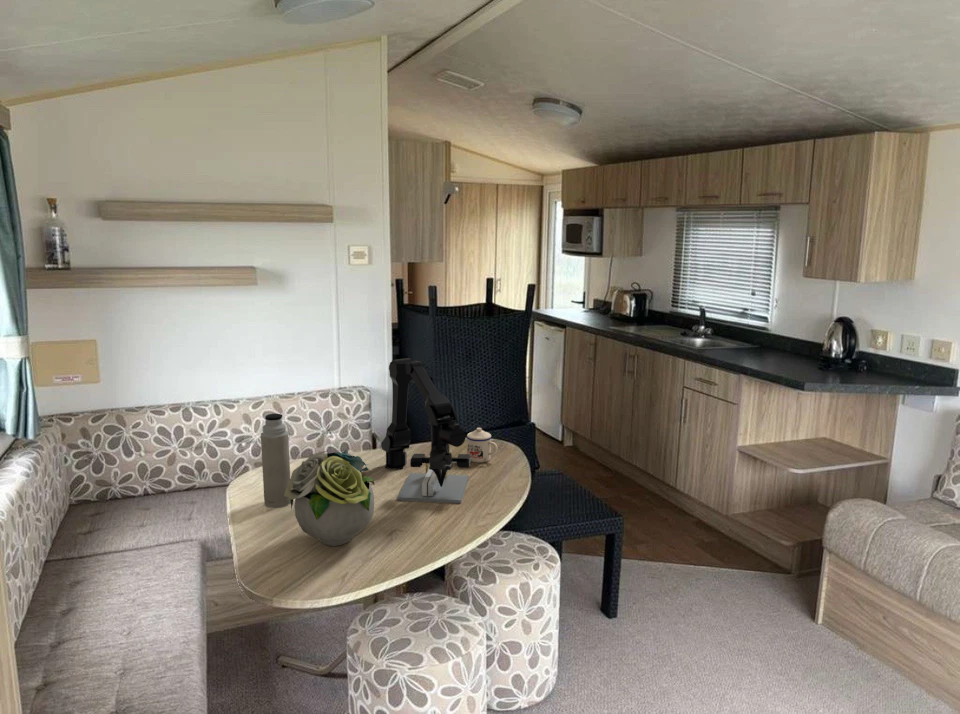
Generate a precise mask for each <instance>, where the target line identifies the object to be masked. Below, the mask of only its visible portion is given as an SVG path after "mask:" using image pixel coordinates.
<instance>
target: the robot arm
mask: <svg viewBox="0 0 960 714" xmlns="http://www.w3.org/2000/svg"><path fill="white" fill-rule="evenodd" d="M424 366H425V365H424V363H423V362H422V361H419V360H412V359H411V358H409V357H408V358H406V357H405V358H400V359H392V360H391V361H390V362H389V364H388V371H389V378H390V380H391V381H392V382H393V393H392V394H393V395H392V413H391V414H392V415H391V423H389V426H388V427H387V428H386V434H385V437H384V438H383V440H382V442H381V443H380V446H381V450H383V452H385V466H384V469H399V470H400V469H401V470H402V469H404V468H405V466H406V465H407V460H408V459H407V455H408V454H407V452H406V450H409V448H410V446H411V445H410V444H411V441H412V430H411V429H410V428H409V426H408V424H407V414H408V413H407V412H408V398H409V385H410V383H411V381H413V382H414V384H415V386H416V387H417V389H418V391H419V393H420V395H421V396H422V397H423V400H424V410H425V412H426V415H427V417H428V418H429V419H428V420H427V424H429V425H430V441H431V442H430V445H431V446H430V447H431V448H430V453H429V456H426V454H425V453H414V454H412V456H411V458H410V461H409V462H410V463H409V467H411V468H421V467H422V466H423V464H426V463H429V469H430V470H433V471H434V473H435V474H436V476H437V479H438V481H439V484H440V486H441V487H442V486H443V482H444V479H445V475H446V473H447V470H448V471H451V470H452V468H453V465H454V464H456V466H457V467H458V468H462V469H469V468H470V466H471V463H472V462H471V456H470V455H469V454H467V453H458V454H457V456H455V457H453V454H452V452H450V446H453V447H455V448H458V447H461V446H462V445H463V444H464V442H465V441H466V438H467V435H466V433H465V431H464V429H462V428H461V425H460V424H459V423H458V422H459V421H458V415H457V413H456V412H455V410H454V407H453V404H452V403H451V402H450V400H449V399H448V398H447V397H446V395H445V394H443V393H441V392H439V391H438V389H437V388H436V386H435V385H434V382H433V380H431V378H430V376H429V375H428V372H426V370H425V367H424Z"/></svg>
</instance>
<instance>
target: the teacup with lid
mask: <svg viewBox="0 0 960 714" xmlns="http://www.w3.org/2000/svg"><path fill="white" fill-rule="evenodd" d="M466 440H467V441H466V445H467V446H466V454H469V455H470V456H471V463H487V462H489V461H490V460H491V456H494V455H495V454H496V453H497V452H498V448H499V447H498V445H497V443H496V442H493V441H492V434H491V433H490V432H487V431H485V430H483V429H482V427H477V428H476V429H475V430H473V431H471V432H469V433H467V435H466ZM492 445H493V446H494V451H493V452H492V447H491V446H492Z"/></svg>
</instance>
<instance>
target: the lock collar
mask: <svg viewBox="0 0 960 714" xmlns="http://www.w3.org/2000/svg"><path fill="white" fill-rule="evenodd" d="M429 467H430V465H429V463H425V474H427V472H428V469H429ZM448 471H449V470H447V473H446V475H445V478H447V475H449V473H448Z"/></svg>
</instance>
